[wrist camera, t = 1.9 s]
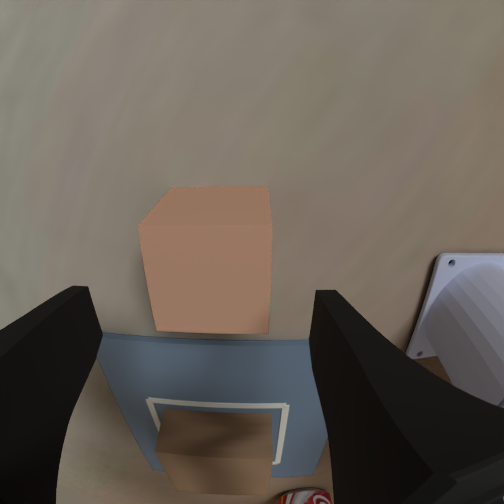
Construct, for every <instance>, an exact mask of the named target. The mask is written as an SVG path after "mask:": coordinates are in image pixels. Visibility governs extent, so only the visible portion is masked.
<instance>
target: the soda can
mask: <svg viewBox="0 0 504 504" xmlns="http://www.w3.org/2000/svg"><path fill="white" fill-rule="evenodd" d="M276 504H332V502H331V498H330V494H329V493H327V492H325V491H322V490H321V489H318V488H301V489H295V490H291V491H289V492H286V493H285V494H284V495H283V496H281V497H279V498H278V499H277V501H276Z"/></svg>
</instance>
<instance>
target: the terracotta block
mask: <svg viewBox="0 0 504 504" xmlns="http://www.w3.org/2000/svg"><path fill="white" fill-rule="evenodd" d="M138 232H139V239H140V245H141V252H142V258H143V264H144V270H145V275H146V281H147V286H148V292H149V297H150V302H151V307H152V312H153V316H154V321H155V326H156V330H157V331H170V332H192V333H224V334H269V320H270V294H271V267H272V235H273V224H272V217H271V210H270V203H269V196H268V190H267V186H217V187H175V188H171V189H170V190H169V191H168V192H167V193H166V194H165V196H164V197H163V198H162V199H161V200H160V201H159V202H158V203H157V205H156V206H155V207H154V208H153V209H152V210H151V211H150V213H149V214H148V215H147V216H146V217H145V218H144V220H143V221H142V222H141V223H140V224H139V225H138Z"/></svg>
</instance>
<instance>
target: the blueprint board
mask: <svg viewBox="0 0 504 504" xmlns="http://www.w3.org/2000/svg"><path fill="white" fill-rule="evenodd" d="M97 358H98V361H99V363H100V366H101V368H102V370H103V373H104V375H105V377H106V380H107V382H108V384H109V386H110V389H111V391H112V393H113V395H114V397H115V400H116V402H117V404H118V406H119V408H120V410H121V412H122V414H123V416H124V418H125V420H126V422H127V424H128V426H129V428H130V430H131V432H132V433H133V435H134V437H135V439H136V441H137V443H138V444H139V446H140V448H141V450H142V452H143V453H144V455H145V457H146V459H147V460H148V462H149V464H150V465H151V467H152V469H153V470H158V471H165V470H164V469H163V467H162V465H161V463H160V461H159V459H158V457H157V455H156V453H155V452H154V451H155V447H156V442H157V438H158V434H159V429H160V425H161V421H162V416H163V412H164V408H166V409H177V410H189V411H204V412H225V413H271V418H272V442H273V464H272V471H271V477H295V476H309V475H313V473H314V471H315V469H316V466H317V464H318V461H319V459H320V456H321V454H322V451H323V448H324V446H325V443H326V440H327V438H328V434H327V429H326V425H325V420H324V416H323V412H322V408H321V404H320V400H319V396H318V392H317V388H316V384H315V379H314V375H313V371H312V365H311V357H310V348H309V340H204V339H180V338H163V337H148V336H134V335H123V334H112V333H103V337H102V340H101V344H100V347H99V350H98V354H97Z"/></svg>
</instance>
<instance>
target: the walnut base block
mask: <svg viewBox="0 0 504 504" xmlns="http://www.w3.org/2000/svg"><path fill="white" fill-rule="evenodd" d="M154 452H155V453H156V455H157V457H158V459H159V461H160V463H161V465H162V467H163V469H164V470H165V472H166V474H167V476H168V478H169V479H170V481H171V483H172V485H173V486H174V488H175V490H178V491H187V492H197V493H209V494H226V495H268V492H269V485H270V478H271V471H272V464H273V442H272V418H271V413H225V412H204V411H189V410H177V409H166V408H164V412H163V416H162V421H161V425H160V429H159V434H158V438H157V442H156V447H155V451H154Z"/></svg>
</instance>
